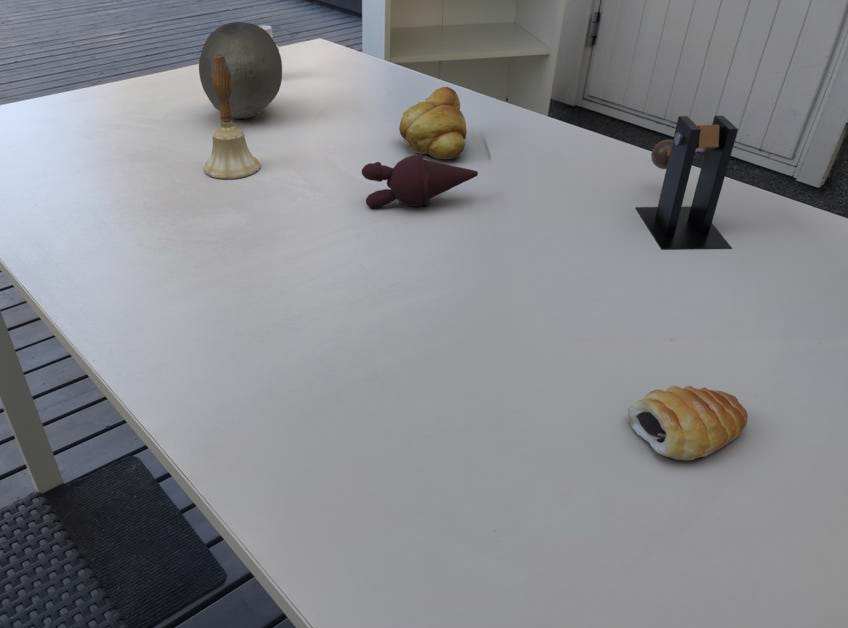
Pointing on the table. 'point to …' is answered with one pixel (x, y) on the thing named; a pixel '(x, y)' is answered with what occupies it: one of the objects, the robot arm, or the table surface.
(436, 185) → the icecream
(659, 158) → the lever
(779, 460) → the table surface
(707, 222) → the bracket
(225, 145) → the hand bell
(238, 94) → the grey round ball
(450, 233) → the table surface
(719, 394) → the pastry
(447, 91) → the bread roll
